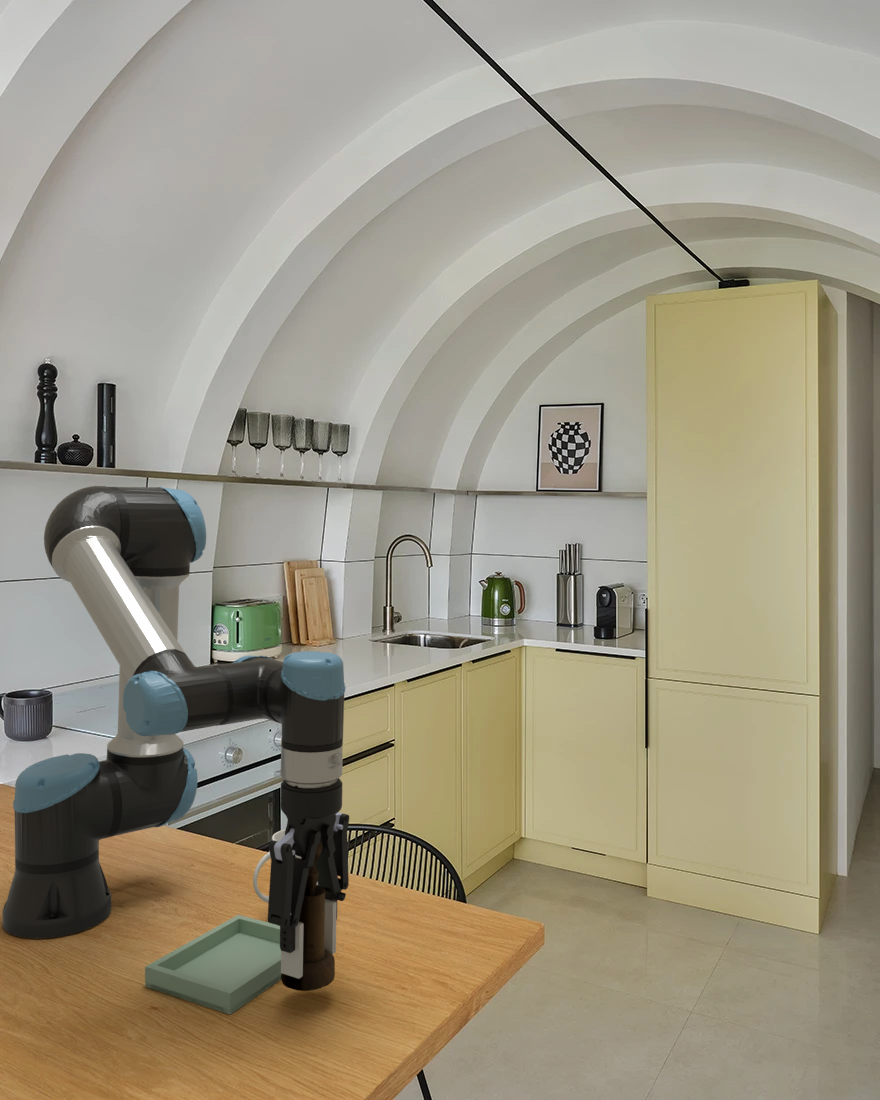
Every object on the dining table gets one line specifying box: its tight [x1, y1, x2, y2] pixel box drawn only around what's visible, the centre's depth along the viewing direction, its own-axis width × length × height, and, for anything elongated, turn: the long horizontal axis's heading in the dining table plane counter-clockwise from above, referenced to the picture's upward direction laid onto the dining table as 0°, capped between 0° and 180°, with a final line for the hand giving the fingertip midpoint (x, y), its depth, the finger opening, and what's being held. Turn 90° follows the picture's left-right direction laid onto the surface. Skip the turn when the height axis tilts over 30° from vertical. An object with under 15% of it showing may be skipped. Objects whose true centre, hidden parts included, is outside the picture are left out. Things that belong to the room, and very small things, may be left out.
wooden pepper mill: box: [280, 841, 336, 992], centre depth 116 cm, size 7×6×18 cm
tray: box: [144, 914, 282, 1015], centre depth 124 cm, size 14×18×3 cm
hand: (308, 961), depth 116 cm, fingers closed on wooden pepper mill, 6 cm apart
